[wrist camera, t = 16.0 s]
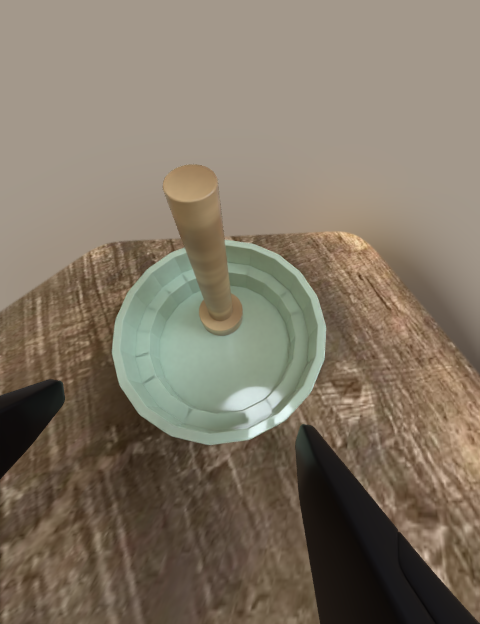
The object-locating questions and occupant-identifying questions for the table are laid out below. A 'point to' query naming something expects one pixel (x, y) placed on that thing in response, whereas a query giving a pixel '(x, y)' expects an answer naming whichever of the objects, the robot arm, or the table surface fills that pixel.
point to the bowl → (219, 348)
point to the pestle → (204, 243)
